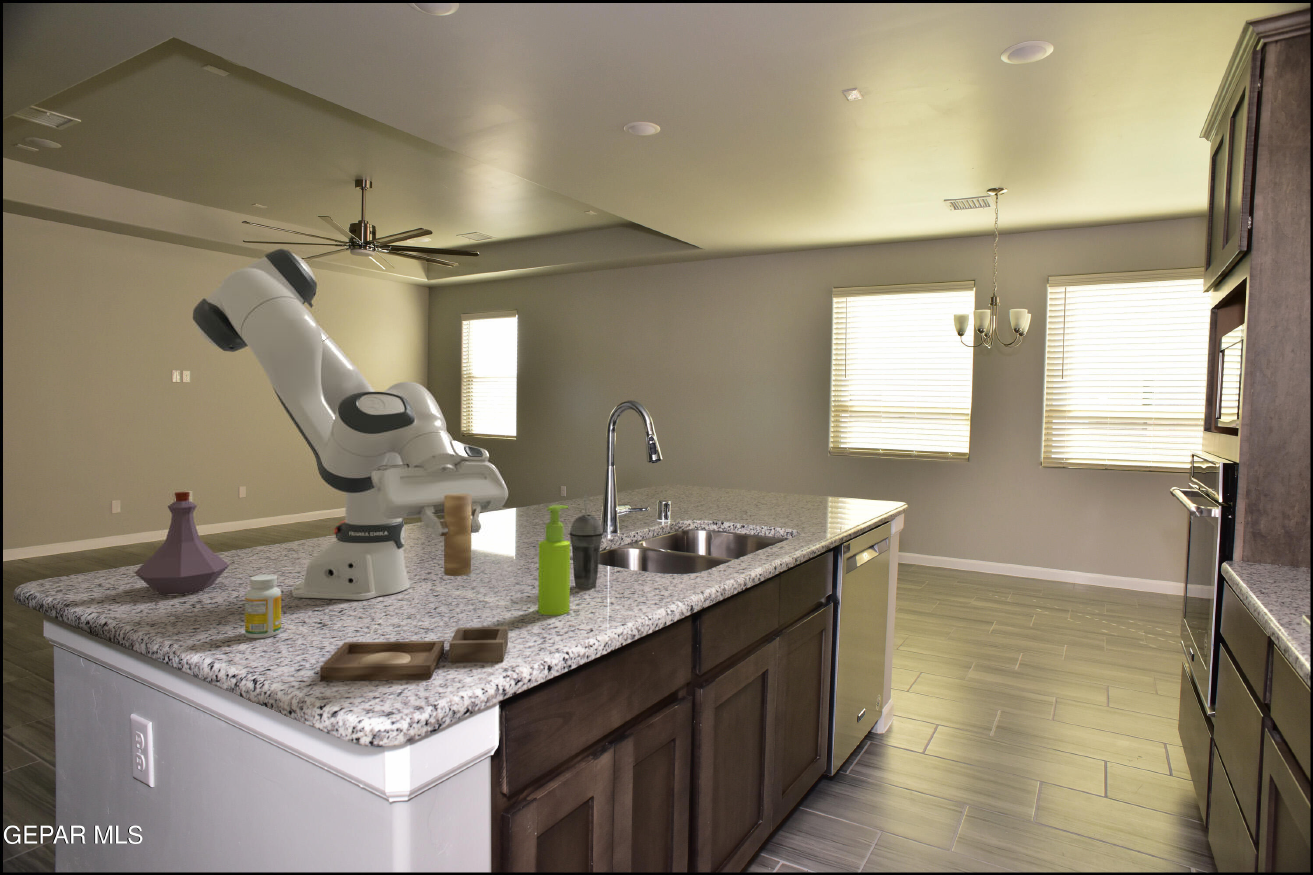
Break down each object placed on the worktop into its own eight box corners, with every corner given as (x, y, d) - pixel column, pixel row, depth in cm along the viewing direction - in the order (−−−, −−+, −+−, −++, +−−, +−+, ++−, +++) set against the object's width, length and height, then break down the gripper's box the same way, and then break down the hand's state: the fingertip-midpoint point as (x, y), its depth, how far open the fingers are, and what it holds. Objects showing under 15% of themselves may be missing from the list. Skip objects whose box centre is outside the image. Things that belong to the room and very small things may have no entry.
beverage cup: (605, 583, 163) (606, 492, 162) (599, 591, 156) (600, 496, 155) (572, 582, 164) (573, 491, 163) (565, 590, 156) (566, 495, 156)
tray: (320, 681, 104) (320, 667, 103) (344, 654, 114) (344, 642, 114) (430, 678, 105) (430, 665, 105) (444, 653, 116) (444, 640, 116)
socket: (449, 662, 112) (449, 643, 112) (457, 645, 120) (457, 627, 120) (503, 661, 113) (503, 642, 113) (508, 644, 121) (508, 626, 120)
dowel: (442, 576, 112) (442, 496, 111) (446, 570, 116) (446, 493, 115) (469, 575, 112) (469, 496, 112) (472, 569, 116) (472, 493, 116)
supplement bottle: (253, 641, 120) (252, 582, 120) (239, 634, 124) (239, 577, 123) (287, 633, 125) (286, 577, 124) (273, 627, 128) (273, 571, 128)
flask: (186, 577, 162) (185, 486, 161) (248, 583, 158) (247, 489, 157) (113, 595, 146) (111, 494, 145) (179, 603, 142) (178, 499, 141)
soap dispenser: (576, 607, 144) (578, 504, 143) (560, 616, 137) (562, 508, 136) (549, 604, 145) (550, 502, 145) (532, 613, 139) (533, 507, 138)
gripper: (373, 452, 112) (397, 526, 105) (495, 449, 125) (524, 514, 118) (362, 479, 115) (385, 552, 108) (482, 473, 129) (510, 537, 122)
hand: (459, 532), depth 113 cm, fingers closed on dowel, 4 cm apart
